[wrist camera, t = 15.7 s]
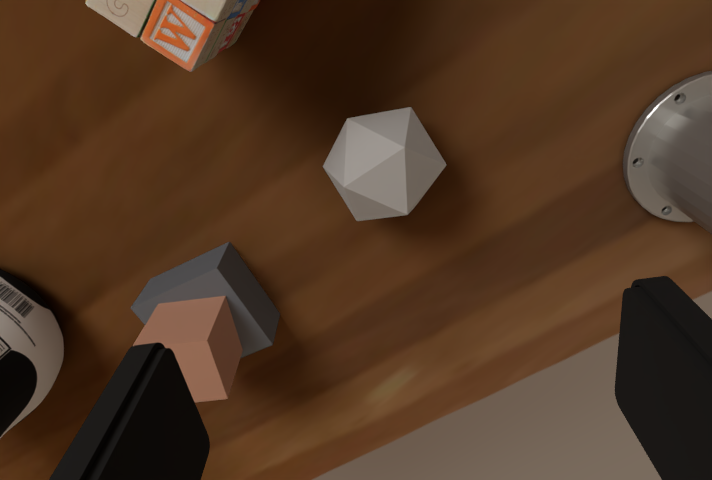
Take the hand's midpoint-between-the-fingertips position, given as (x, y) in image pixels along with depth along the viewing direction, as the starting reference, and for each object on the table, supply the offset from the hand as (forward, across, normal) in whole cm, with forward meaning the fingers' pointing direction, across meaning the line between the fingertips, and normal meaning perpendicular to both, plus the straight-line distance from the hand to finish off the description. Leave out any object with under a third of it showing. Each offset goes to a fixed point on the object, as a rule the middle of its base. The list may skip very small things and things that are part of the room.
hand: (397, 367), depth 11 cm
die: (+34, 0, +6) cm, 34 cm away
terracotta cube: (+29, +18, +18) cm, 38 cm away
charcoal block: (+34, +18, +18) cm, 42 cm away
